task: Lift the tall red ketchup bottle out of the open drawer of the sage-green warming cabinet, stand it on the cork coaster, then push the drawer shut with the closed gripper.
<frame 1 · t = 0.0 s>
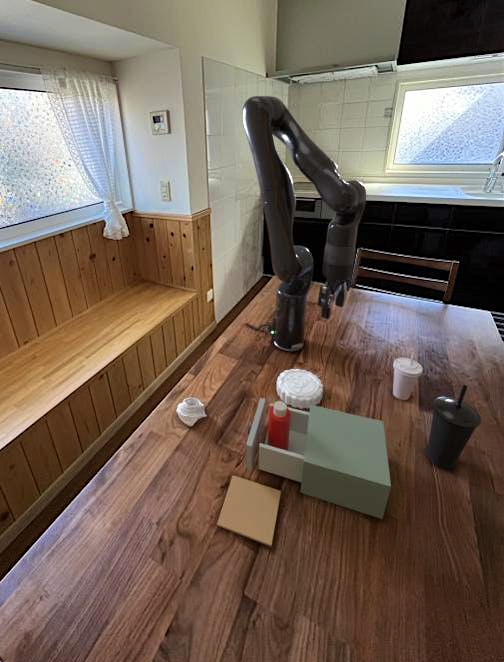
hand: (332, 311, 95), 17 cm above the table, tool pointing down, fingers open, 8 cm apart
drinking cup: (439, 459, 72), on the table
ketchup bottle: (277, 446, 74), point 2 cm above the table, touching drawer
whipped cream: (191, 415, 86), on the table
cork coaster: (250, 508, 64), on the table
smoothie: (400, 395, 88), on the table
mooncake: (298, 392, 91), on the table
warming cabinet: (340, 471, 70), on the table
drawer: (281, 439, 72), point 5 cm above the table, slide at 10.0 cm, touching ketchup bottle
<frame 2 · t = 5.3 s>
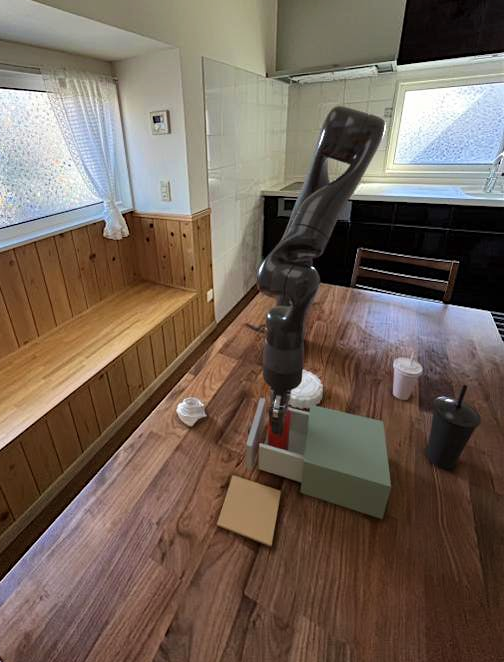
hand: (279, 423, 71), 9 cm above the table, tool pointing down, fingers closed on ketchup bottle, 4 cm apart
ketchup bottle: (277, 446, 74), point 2 cm above the table, touching drawer, gripper
everything else where it was.
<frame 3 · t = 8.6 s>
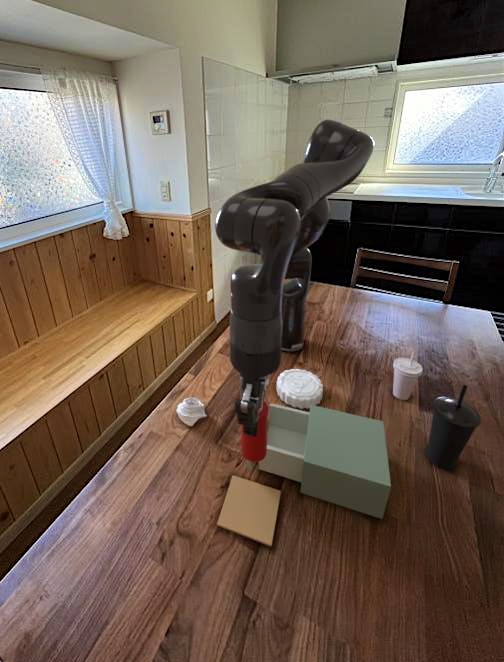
hand: (254, 421, 56), 22 cm above the table, tool pointing down, fingers closed on ketchup bottle, 4 cm apart
ketchup bottle: (253, 450, 58), point 15 cm above the table, touching gripper
drawer: (281, 439, 72), point 5 cm above the table, slide at 10.0 cm
everything else where it was.
when the fingers open (7 cm above the table, at t = 12.2 s): ketchup bottle stays where it is, resting on cork coaster.
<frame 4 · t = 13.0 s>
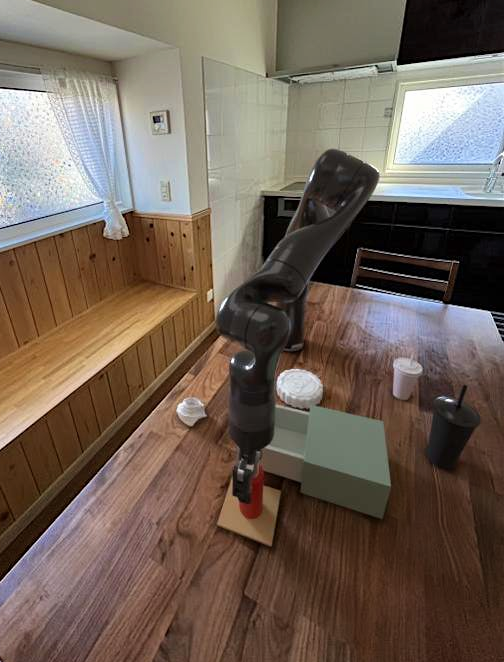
hand: (250, 477, 61), 9 cm above the table, tool pointing down, fingers open, 8 cm apart
ketchup bottle: (250, 506, 64), resting on cork coaster
everything else where it was.
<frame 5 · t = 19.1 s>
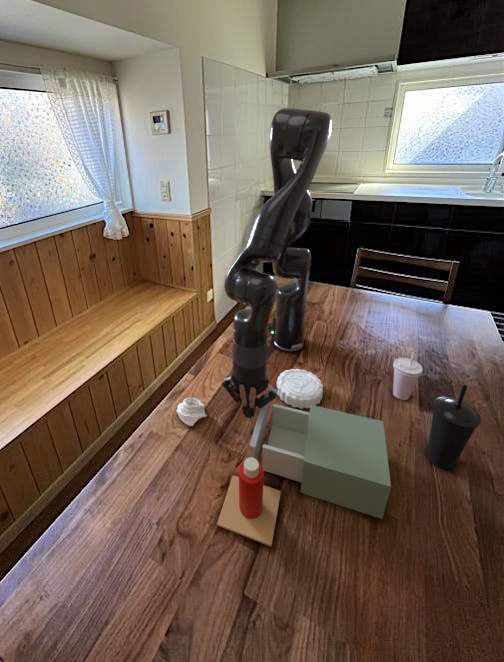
hand: (249, 415, 79), 4 cm above the table, tool pointing down, fingers closed
drawer: (284, 440, 72), point 5 cm above the table, slide at 9.3 cm, touching gripper
everything else where it was.
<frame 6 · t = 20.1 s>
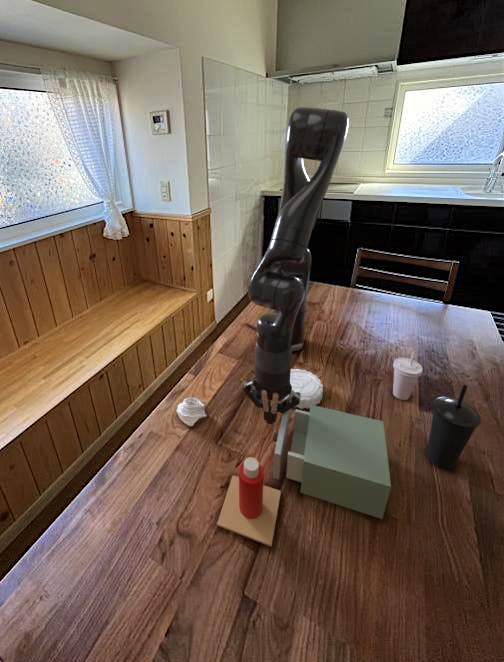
hand: (270, 421, 78), 4 cm above the table, tool pointing down, fingers closed
drawer: (308, 446, 71), point 5 cm above the table, slide at 4.3 cm, touching gripper
everything else where it was.
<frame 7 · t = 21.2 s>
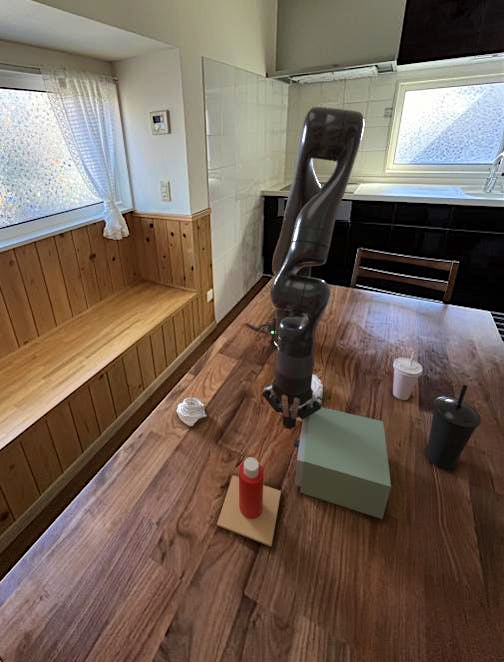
hand: (289, 426, 76), 4 cm above the table, tool pointing down, fingers closed
drawer: (330, 452, 69), point 5 cm above the table, slide at 0.0 cm, touching gripper, warming cabinet
everything else where it was.
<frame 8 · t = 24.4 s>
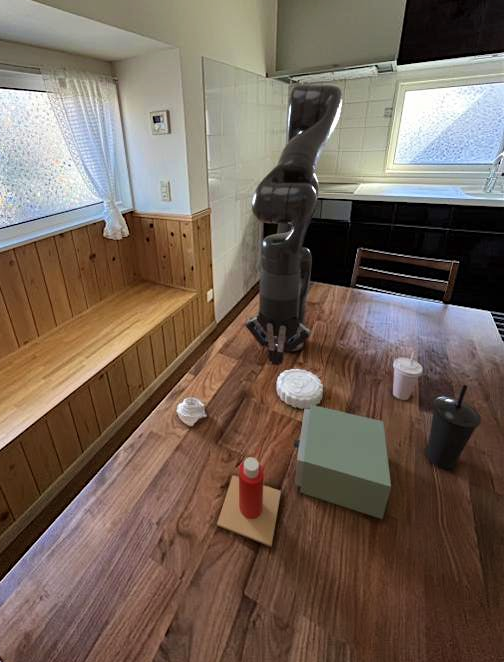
hand: (276, 362, 71), 21 cm above the table, tool pointing down, fingers closed
drawer: (330, 452, 69), point 5 cm above the table, slide at 0.0 cm
everything else where it was.
at the end: ketchup bottle inside the target area on the cork coaster (0.1 cm from its centre), point 0.5 cm above the cork coaster's base; ketchup bottle tilted 0°; drawer slide at 0.0 cm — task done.
